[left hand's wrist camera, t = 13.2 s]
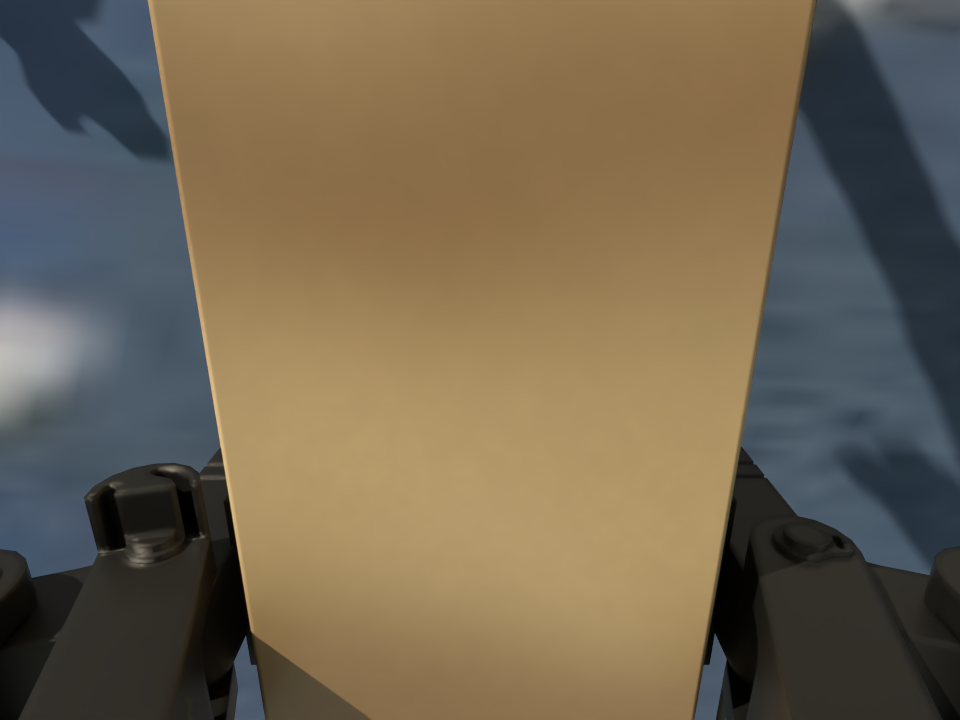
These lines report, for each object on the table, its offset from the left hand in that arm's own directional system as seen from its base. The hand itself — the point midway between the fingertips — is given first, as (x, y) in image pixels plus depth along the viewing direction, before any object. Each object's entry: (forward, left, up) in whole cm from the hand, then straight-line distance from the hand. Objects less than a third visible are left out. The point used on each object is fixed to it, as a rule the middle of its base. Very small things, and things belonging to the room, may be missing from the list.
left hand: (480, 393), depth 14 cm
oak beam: (0, +11, 0) cm, 11 cm away
